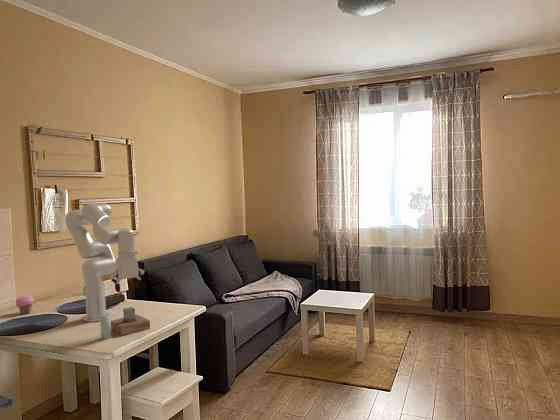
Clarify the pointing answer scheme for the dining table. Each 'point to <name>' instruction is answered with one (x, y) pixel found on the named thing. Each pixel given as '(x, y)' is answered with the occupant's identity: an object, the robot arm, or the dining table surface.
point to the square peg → (129, 314)
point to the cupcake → (24, 304)
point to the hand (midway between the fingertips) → (127, 289)
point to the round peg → (105, 326)
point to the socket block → (130, 325)
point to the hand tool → (114, 300)
